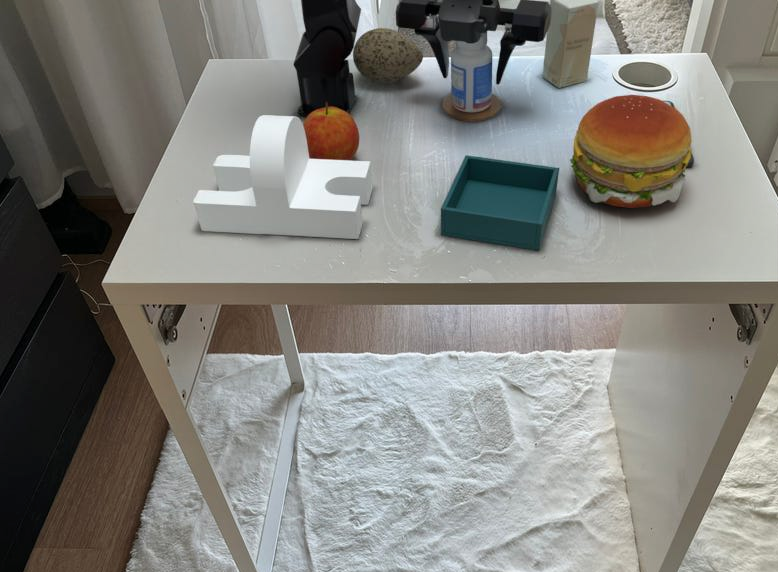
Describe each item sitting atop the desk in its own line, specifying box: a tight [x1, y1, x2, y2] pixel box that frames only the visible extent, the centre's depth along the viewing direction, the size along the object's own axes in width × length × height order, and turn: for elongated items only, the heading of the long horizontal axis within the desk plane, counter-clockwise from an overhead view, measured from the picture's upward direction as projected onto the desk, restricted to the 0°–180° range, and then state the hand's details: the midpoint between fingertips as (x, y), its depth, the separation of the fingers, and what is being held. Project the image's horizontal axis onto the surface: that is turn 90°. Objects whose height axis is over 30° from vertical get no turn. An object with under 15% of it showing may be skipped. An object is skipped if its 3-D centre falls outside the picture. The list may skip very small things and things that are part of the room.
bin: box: [440, 154, 560, 251], centre depth 86 cm, size 11×11×4 cm
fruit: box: [302, 102, 360, 161], centre depth 92 cm, size 7×7×8 cm
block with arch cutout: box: [192, 114, 374, 240], centre depth 85 cm, size 18×10×11 cm, turn 84°
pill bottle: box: [450, 32, 493, 113], centre depth 101 cm, size 6×5×10 cm
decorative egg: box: [352, 27, 424, 84], centre depth 107 cm, size 7×7×10 cm
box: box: [542, 0, 599, 89], centre depth 105 cm, size 5×4×11 cm
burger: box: [569, 94, 693, 209], centre depth 87 cm, size 14×14×10 cm
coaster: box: [441, 93, 502, 122], centre depth 104 cm, size 8×8×1 cm
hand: (471, 80), depth 102 cm, fingers open, 7 cm apart
